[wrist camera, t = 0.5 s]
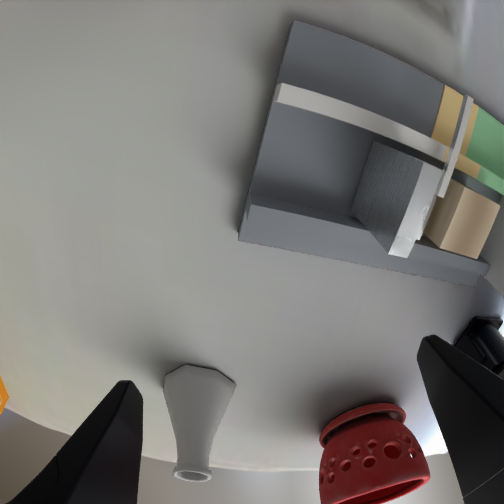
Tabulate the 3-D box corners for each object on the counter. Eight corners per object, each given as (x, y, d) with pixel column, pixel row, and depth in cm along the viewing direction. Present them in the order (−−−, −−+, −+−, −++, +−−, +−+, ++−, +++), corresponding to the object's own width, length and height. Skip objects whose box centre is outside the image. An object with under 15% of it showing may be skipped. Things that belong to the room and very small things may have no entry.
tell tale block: (466, 185, 18) (500, 205, 14) (447, 233, 20) (476, 259, 16) (429, 168, 17) (464, 186, 14) (409, 221, 19) (439, 247, 16)
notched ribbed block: (444, 95, 15) (505, 104, 10) (402, 224, 19) (447, 267, 14) (393, 67, 14) (450, 64, 9) (350, 209, 18) (388, 253, 13)
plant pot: (347, 389, 30) (374, 486, 19) (421, 396, 32) (452, 468, 22) (291, 442, 35) (301, 520, 25) (364, 444, 38) (381, 508, 28)
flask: (181, 353, 26) (166, 453, 17) (249, 380, 28) (254, 474, 19) (152, 389, 28) (136, 474, 20) (213, 412, 30) (210, 492, 22)
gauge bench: (522, 145, 17) (570, 166, 12) (468, 281, 24) (503, 320, 18) (291, 23, 14) (315, -7, 9) (238, 233, 20) (238, 286, 15)
